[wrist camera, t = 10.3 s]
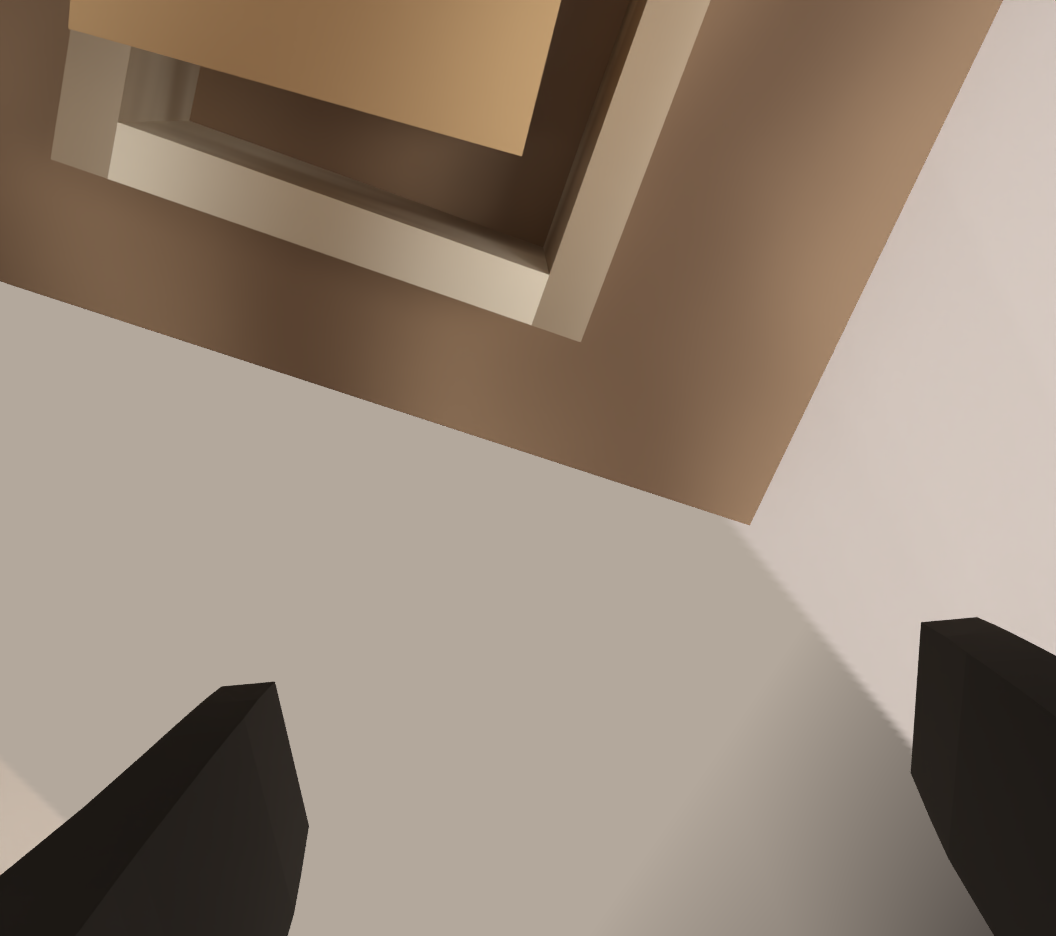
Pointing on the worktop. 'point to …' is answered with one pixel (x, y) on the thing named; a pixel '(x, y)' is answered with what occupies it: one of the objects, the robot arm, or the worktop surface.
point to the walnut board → (506, 222)
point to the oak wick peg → (360, 53)
